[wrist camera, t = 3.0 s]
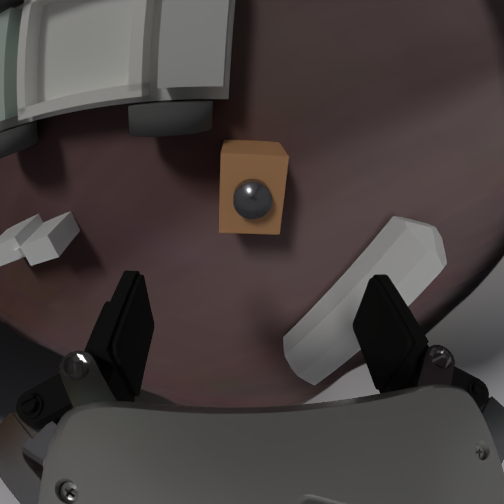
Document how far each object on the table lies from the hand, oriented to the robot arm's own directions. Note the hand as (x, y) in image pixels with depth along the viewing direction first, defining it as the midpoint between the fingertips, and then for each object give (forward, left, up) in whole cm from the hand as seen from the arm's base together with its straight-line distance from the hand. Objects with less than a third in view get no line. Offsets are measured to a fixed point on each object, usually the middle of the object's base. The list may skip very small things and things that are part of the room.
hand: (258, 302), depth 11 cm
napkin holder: (+22, +6, -16) cm, 28 cm away
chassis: (+14, -13, -15) cm, 24 cm away
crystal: (-13, +13, -16) cm, 24 cm away
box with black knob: (0, 0, -15) cm, 15 cm away
